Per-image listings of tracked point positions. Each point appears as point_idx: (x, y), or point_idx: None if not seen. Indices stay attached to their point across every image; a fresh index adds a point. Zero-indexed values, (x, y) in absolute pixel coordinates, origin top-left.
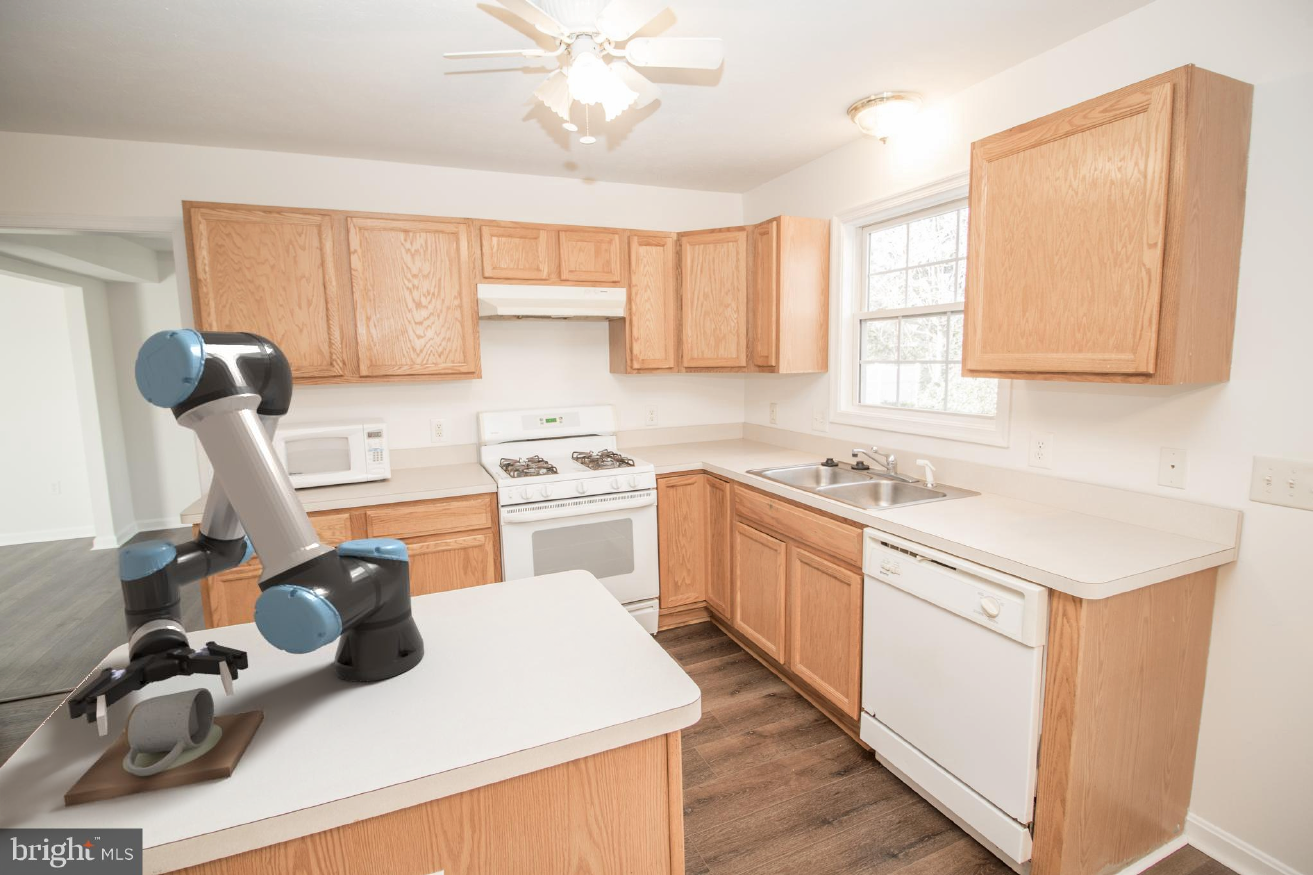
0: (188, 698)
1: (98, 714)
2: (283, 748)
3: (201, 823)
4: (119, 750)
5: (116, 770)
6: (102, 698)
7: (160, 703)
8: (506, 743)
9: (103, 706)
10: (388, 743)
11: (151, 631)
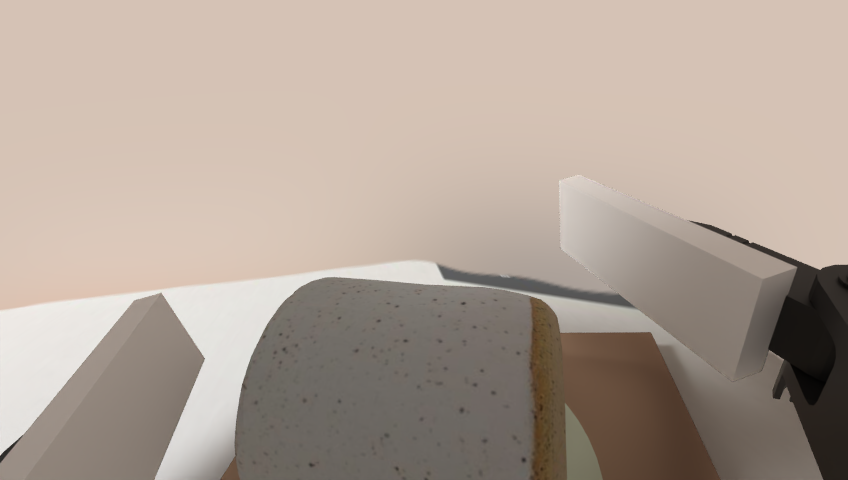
0: (320, 282)
1: (586, 180)
2: (201, 416)
3: (368, 273)
4: None
5: (578, 397)
6: (713, 247)
7: (421, 293)
8: (10, 317)
9: (617, 205)
10: (76, 362)
11: None
